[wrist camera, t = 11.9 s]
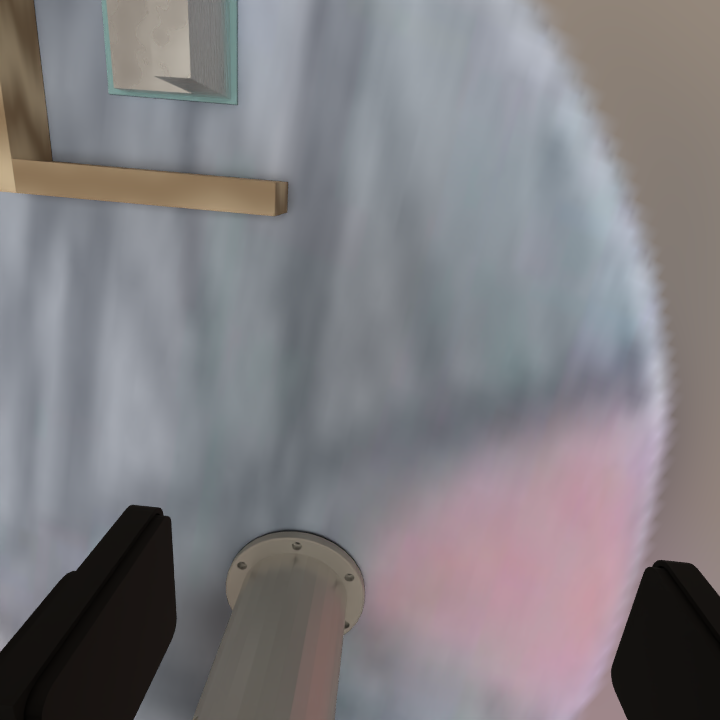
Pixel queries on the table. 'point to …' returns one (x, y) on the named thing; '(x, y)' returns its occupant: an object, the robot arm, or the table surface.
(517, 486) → the table surface
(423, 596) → the table surface
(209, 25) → the bracket
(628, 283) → the table surface
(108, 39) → the teal square plate
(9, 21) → the wooden l-shaped piece
